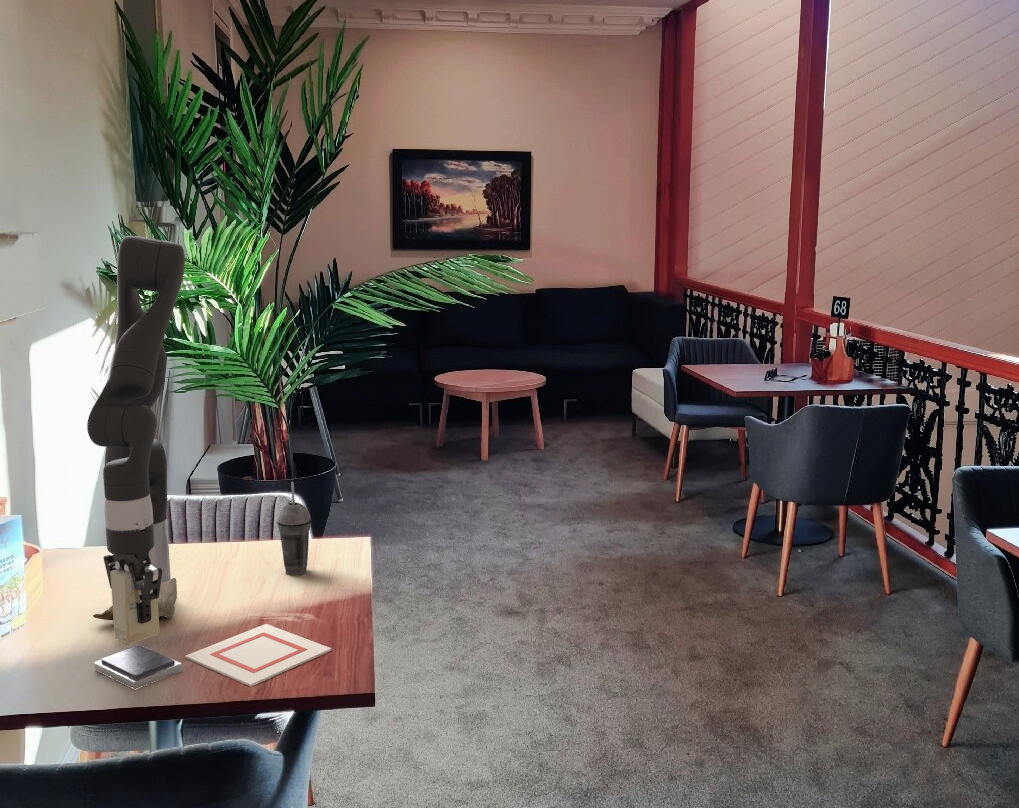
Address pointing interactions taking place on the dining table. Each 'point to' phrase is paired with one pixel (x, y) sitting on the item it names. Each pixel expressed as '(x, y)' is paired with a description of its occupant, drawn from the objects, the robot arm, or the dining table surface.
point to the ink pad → (138, 666)
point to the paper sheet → (258, 654)
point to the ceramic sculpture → (164, 601)
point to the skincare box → (130, 610)
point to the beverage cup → (294, 536)
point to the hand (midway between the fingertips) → (136, 618)
